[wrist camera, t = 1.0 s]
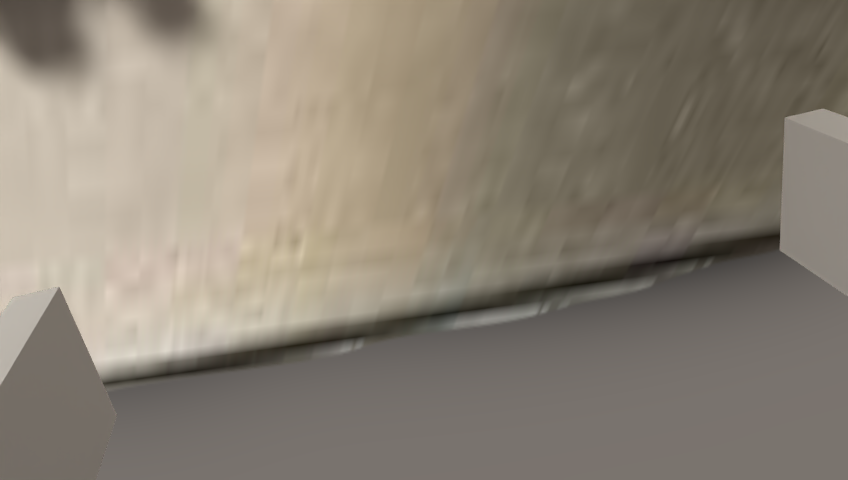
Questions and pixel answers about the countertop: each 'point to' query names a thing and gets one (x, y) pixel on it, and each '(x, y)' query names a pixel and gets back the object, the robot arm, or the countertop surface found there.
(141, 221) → the countertop surface
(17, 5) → the countertop surface
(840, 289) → the robot arm
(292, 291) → the countertop surface
